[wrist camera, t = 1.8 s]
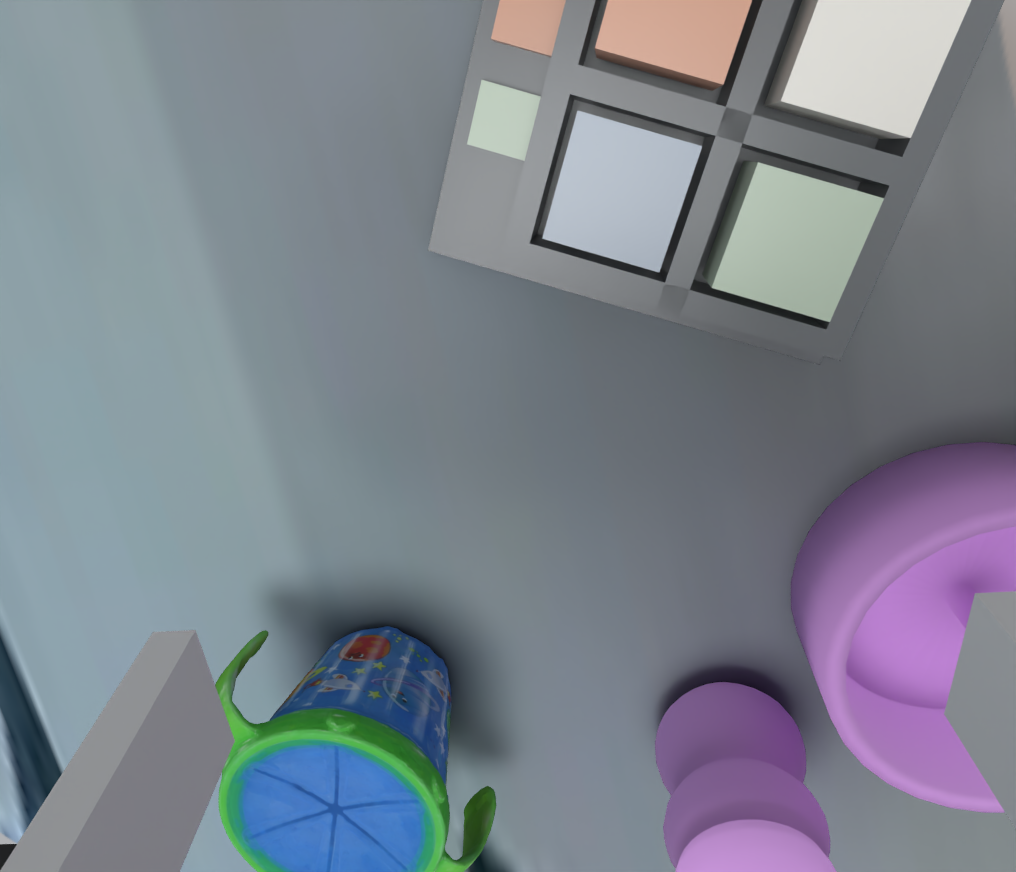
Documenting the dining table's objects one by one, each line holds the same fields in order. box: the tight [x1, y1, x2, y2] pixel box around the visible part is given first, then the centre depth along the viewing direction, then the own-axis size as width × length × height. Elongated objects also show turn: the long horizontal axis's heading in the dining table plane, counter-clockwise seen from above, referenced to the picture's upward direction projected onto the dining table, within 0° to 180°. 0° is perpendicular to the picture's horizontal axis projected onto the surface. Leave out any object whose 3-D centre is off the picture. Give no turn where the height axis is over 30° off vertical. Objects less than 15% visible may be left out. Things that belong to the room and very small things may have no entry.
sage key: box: [702, 161, 884, 322], centre depth 28 cm, size 4×4×3 cm
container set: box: [655, 442, 1016, 872], centre depth 32 cm, size 25×15×13 cm, turn 132°
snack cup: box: [215, 626, 496, 872], centre depth 38 cm, size 16×10×10 cm
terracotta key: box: [595, 0, 752, 91], centre depth 26 cm, size 4×4×3 cm
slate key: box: [542, 111, 702, 272], centre depth 28 cm, size 4×4×3 cm
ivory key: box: [764, 0, 971, 139], centre depth 26 cm, size 4×4×3 cm
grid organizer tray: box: [428, 0, 1004, 365], centre depth 29 cm, size 18×16×4 cm
